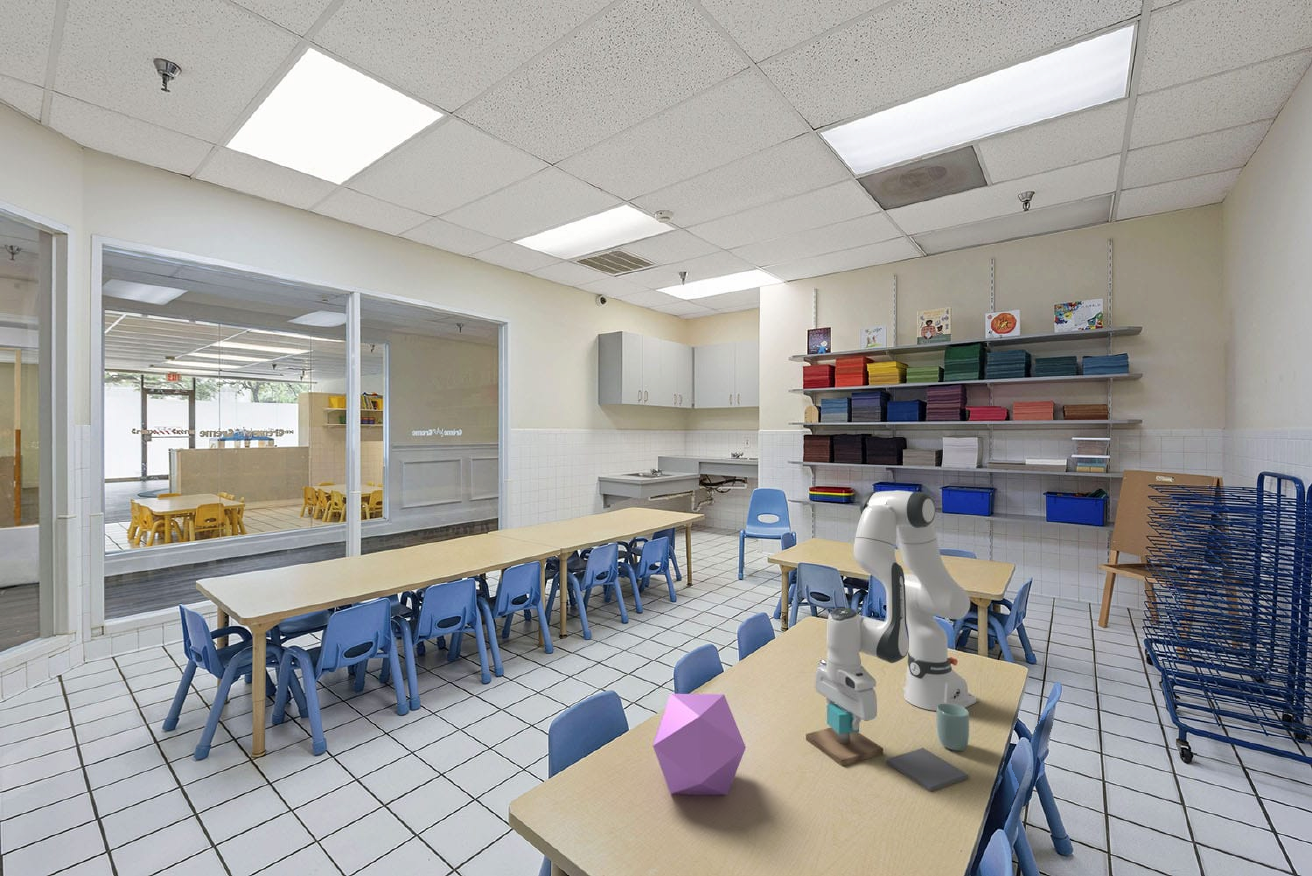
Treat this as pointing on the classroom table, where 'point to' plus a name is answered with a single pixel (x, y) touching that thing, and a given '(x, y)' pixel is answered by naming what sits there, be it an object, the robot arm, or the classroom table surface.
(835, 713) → the teal cube
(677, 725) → the icosahedron
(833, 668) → the robot arm
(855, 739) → the post base
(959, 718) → the cup
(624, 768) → the classroom table surface
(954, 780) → the mat
